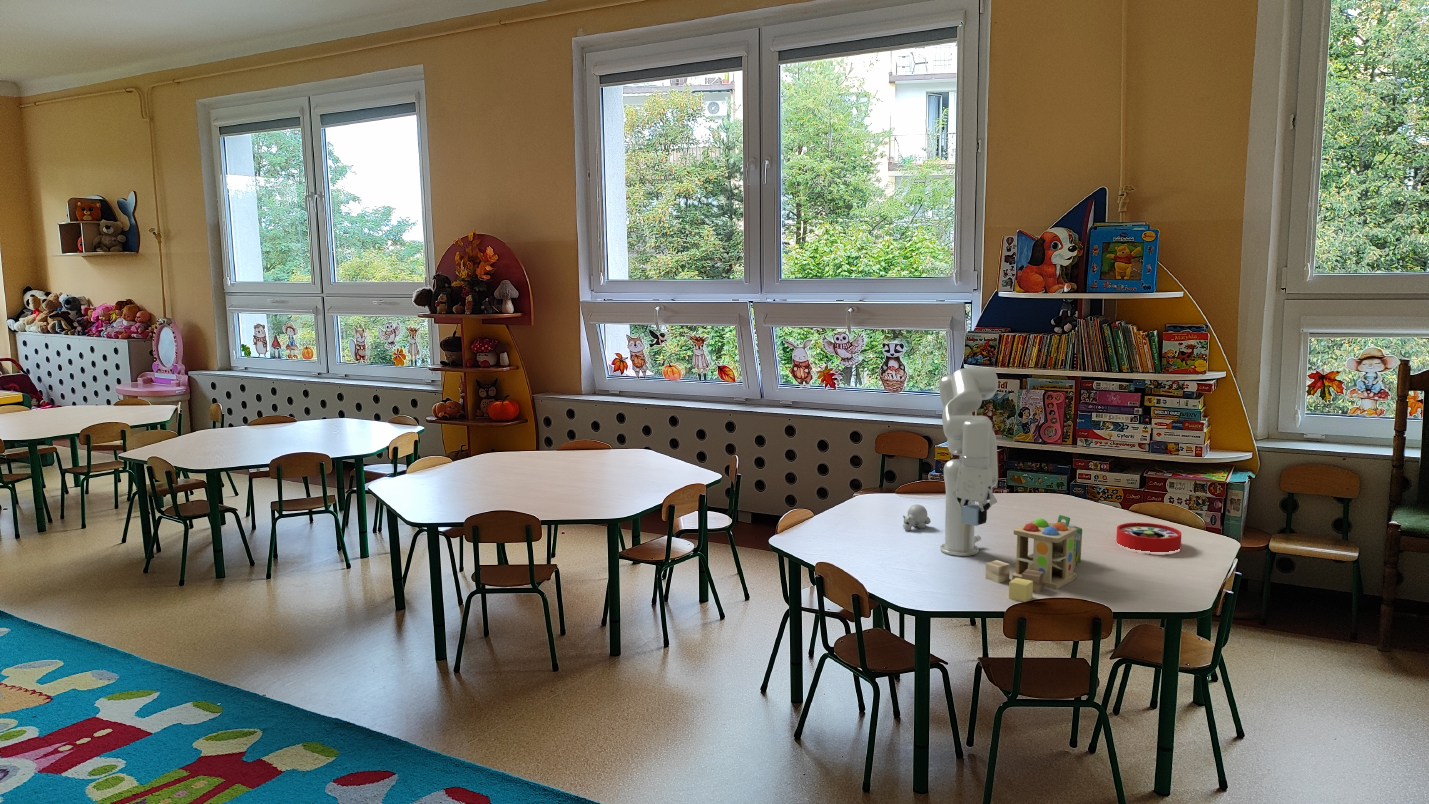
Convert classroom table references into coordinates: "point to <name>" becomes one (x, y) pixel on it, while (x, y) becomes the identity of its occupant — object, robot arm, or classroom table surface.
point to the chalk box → (1076, 538)
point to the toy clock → (1148, 537)
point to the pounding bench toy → (1047, 552)
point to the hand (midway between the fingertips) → (974, 520)
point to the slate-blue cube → (970, 514)
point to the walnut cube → (1034, 579)
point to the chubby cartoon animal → (916, 517)
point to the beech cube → (997, 571)
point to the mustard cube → (1020, 589)
